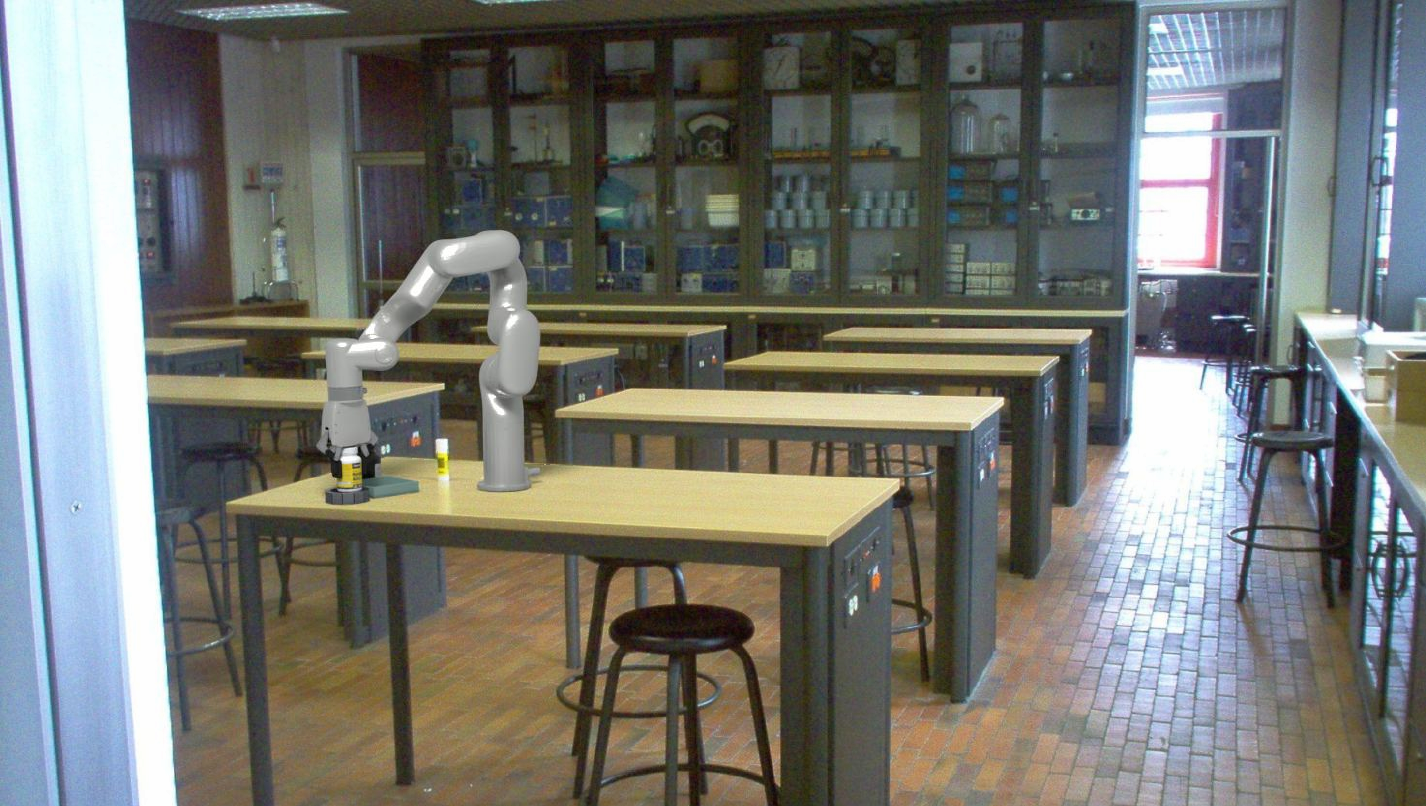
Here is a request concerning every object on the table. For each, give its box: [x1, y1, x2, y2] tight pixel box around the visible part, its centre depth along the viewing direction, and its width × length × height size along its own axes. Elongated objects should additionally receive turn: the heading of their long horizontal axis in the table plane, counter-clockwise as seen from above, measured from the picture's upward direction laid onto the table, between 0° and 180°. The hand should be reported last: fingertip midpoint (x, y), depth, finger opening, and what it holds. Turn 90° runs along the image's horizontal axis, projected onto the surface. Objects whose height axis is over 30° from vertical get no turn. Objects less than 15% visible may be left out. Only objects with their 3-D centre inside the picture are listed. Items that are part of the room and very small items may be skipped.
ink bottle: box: [353, 432, 383, 479], centre depth 316 cm, size 10×9×12 cm
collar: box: [324, 486, 371, 506], centre depth 293 cm, size 9×9×2 cm
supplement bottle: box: [336, 446, 362, 492], centre depth 293 cm, size 5×5×10 cm
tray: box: [362, 475, 420, 500], centre depth 305 cm, size 12×12×2 cm
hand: (349, 475), depth 293 cm, fingers closed on supplement bottle, 5 cm apart
